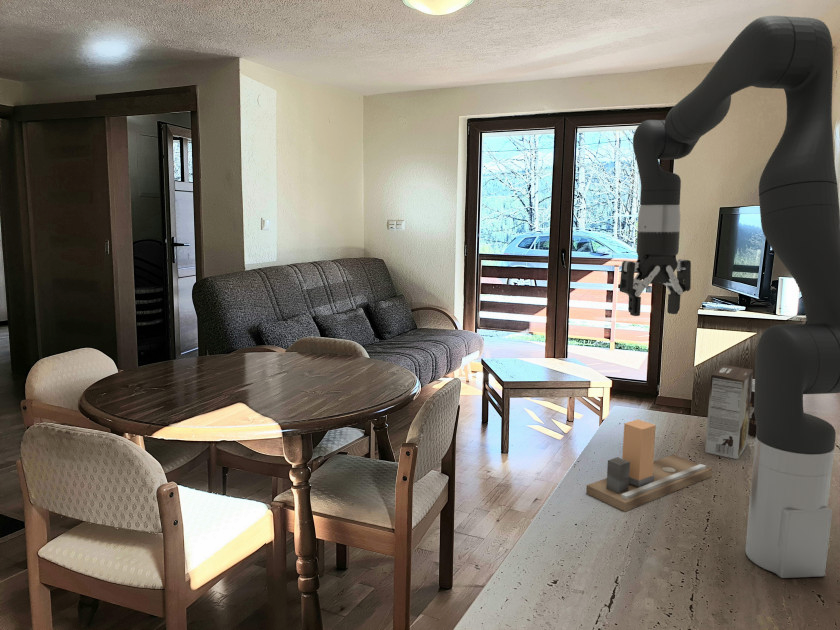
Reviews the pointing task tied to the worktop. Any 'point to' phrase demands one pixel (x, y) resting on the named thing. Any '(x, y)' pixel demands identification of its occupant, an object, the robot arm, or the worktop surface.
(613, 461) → the wooden slider board
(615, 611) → the worktop surface
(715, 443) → the coffee box
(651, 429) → the block
